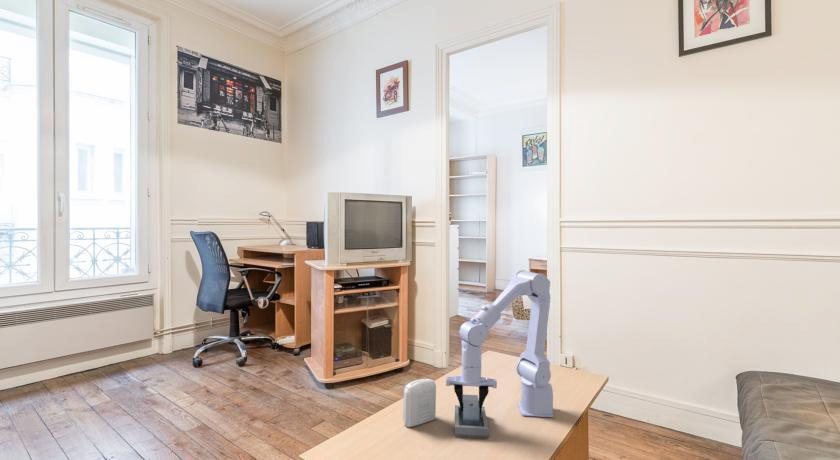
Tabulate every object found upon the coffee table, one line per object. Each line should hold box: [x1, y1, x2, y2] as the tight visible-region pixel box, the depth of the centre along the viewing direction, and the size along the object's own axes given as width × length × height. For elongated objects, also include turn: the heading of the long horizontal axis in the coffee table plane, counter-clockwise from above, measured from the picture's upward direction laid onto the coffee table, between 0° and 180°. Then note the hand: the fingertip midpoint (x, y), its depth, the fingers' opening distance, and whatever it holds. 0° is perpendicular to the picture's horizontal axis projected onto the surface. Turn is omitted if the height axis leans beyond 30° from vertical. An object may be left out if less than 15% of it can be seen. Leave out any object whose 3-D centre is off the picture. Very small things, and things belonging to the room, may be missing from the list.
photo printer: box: [402, 378, 437, 428], centre depth 114 cm, size 10×4×12 cm, turn 123°
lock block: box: [462, 393, 480, 426], centre depth 112 cm, size 4×8×6 cm, turn 175°
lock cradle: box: [454, 404, 489, 440], centre depth 112 cm, size 9×12×3 cm
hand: (470, 410), depth 112 cm, fingers closed on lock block, 4 cm apart
